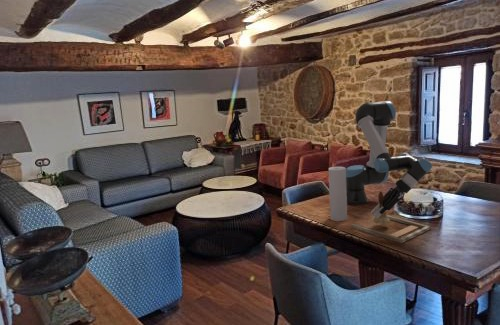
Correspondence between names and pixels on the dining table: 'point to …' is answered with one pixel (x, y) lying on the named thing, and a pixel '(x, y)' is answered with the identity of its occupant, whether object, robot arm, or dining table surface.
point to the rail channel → (400, 240)
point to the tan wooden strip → (404, 231)
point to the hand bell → (383, 217)
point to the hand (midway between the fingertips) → (374, 215)
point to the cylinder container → (337, 193)
